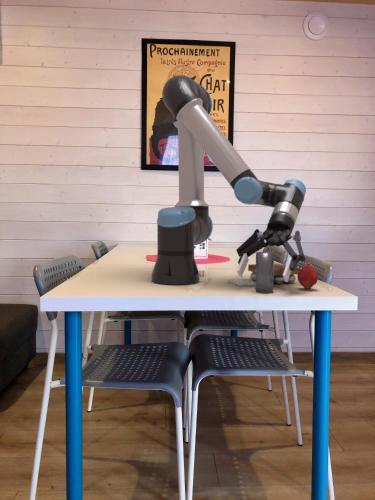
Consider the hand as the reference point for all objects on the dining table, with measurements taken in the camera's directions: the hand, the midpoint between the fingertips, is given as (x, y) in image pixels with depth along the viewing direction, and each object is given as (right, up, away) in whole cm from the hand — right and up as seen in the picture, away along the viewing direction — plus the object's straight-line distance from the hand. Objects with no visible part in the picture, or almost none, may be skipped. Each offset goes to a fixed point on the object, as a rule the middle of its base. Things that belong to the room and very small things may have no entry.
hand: (261, 276), depth 126 cm
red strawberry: (+14, -5, +7) cm, 17 cm away
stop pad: (-3, -3, +16) cm, 16 cm away
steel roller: (+1, -5, +2) cm, 5 cm away
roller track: (+7, -3, +20) cm, 21 cm away
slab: (+7, 0, +20) cm, 21 cm away
